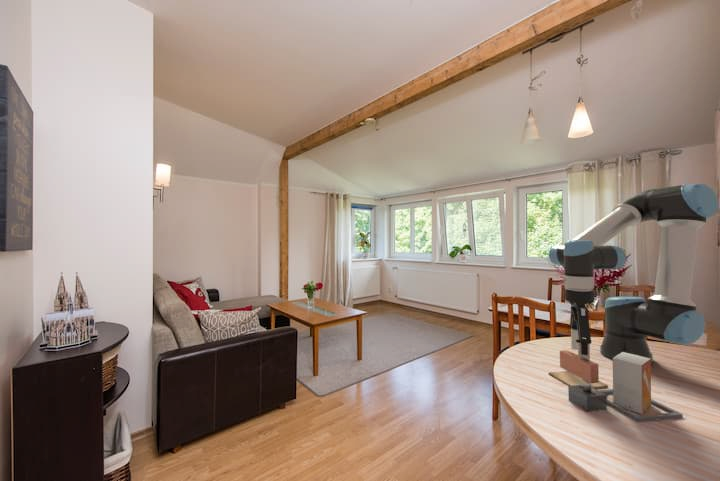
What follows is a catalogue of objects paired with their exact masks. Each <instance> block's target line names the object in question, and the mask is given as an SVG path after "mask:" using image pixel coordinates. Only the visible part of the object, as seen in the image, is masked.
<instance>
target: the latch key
mask: <svg viewBox="0 0 720 481" xmlns="http://www.w3.org/2000/svg"><path fill="white" fill-rule="evenodd" d="M559 368H561V369H563V370H564V371H568V372H570V373H572V374H574V375H576V376H578V377H580V378H582V389H583V390H585V391H591V383H599V381H600V380H599V379H600V378H599V375H600V374H599V373H600V372H599V370H600V369H599V364H598V363H597V362H594V361H592V360H591V359H590V360H588V359H585V358H583V357H581V356H579V355H578V354H576V353H574V352H573V351H572V352H571V351H569V350H567V349H565V350H559Z"/></svg>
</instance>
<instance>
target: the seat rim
mask: <svg viewBox="0 0 720 481" xmlns="http://www.w3.org/2000/svg"><path fill="white" fill-rule="evenodd" d="M597 390H598V391H600V392H602V393H604V394H606V395H613V388H610V389H597ZM651 405H652V406H655V407H657V408H659V409H661V410H663V411H665V412H666V413H657V414H656V413H655V414H646V415H636V414H634V413H633V412H632V411H631V412H630V410H628V409H626V408H623V407H620V406H618V405H616V404H615V403H613V401H611V400H609V399H607V406H609V407H611V408H613V409H615V410H616V411H618V412H619V413H622V414H623V415H625V416H627V417H629V419H632V420H634V421H636V422H637V423H642V422H643V423H644V422H653V421H660V420H661V421H662V420H670V419H680V418H683V417H684V416H683V413H681V412H679V411H677V410H675V409H673V408H671V407H669V406H666V405H665V404H662V403H660V402H658V401H656V400H654V399H652V398H651Z"/></svg>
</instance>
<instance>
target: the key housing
mask: <svg viewBox="0 0 720 481" xmlns="http://www.w3.org/2000/svg"><path fill="white" fill-rule="evenodd" d="M567 386H568V385H567ZM598 390H599V389H598V388H593V387H591V391H585V390H583V389H582V385H574V386H568V390H567V391H568V392H567V393H568V401H570V402H571V403H572V404H574V405H576V406H577V407H579V408H581V409H582V410H584V411H585V412H587V413H588V412H598V411H607V410H608V405H607V400H608V398H607V396H608V394H604V393H602V392H600V391H598Z"/></svg>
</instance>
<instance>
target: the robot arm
mask: <svg viewBox="0 0 720 481" xmlns="http://www.w3.org/2000/svg"><path fill="white" fill-rule="evenodd" d="M718 212H719V199H718V195H717V193H716V192H715V191H714V189H713V188H712V187H711V186H709V185H708V184H705V183H701V182H696V183H685V184H684V183H683V184H679V185H674V186H665V187H659V188H652V189H647V190H644V191H641V192H638V193H636V194H635V195H633V196H630V197H629V198H627V199H625V200H624V201H621V202H620V203H618V204H617V205H615V206H614V207H613V209H612V212H610V213H609V214H608V215H606V216H605V217H603V218H602V219H600V220H599V221H597V222H596V223H595V224H593V225H592V226H590V227H588V228H587V229H586V230H584V231H583V232H581V233H580V234H578V235H577V236H575V237H574V238H572V239H571V240H566V241H565V242H564V244H559V245H554V246H551V248H550V249H549V251H548V258H549V261H550V262H551V263H552V264H554V265H555V266H562V267H564V268H563V270H564V273H563V274H564V277H562V280H561V281H563V282H564V287H565V289H564V301H566V302H569V303H570V318H569V319H570V320H569V321H570V322H569V325H570V343H571V344H570V345H571V346H570V349H571V350H574V351H575V350H576V351H577V355H579V356H581V357H583V358H585V359H588V360H590V361H591V354H590V353H591V349H590V348H591V346H590V344H592V338H591V327H590V319H589V317H590V316H589V312H590V311H589V309H588V308H587V307H586V305H587V304H589V305H590V304H593V303H594V302H595V291H594V289H595V276H594V270H614V269H619V268H622V267H623V266H624V265H625V264H626V262H627V258H628V256H627V254H626V251H625V250H624V249H623V248H622V247H620V246H618V245H617V246H616V245H608V244H607V243H609V241H611V240H612V239H614V238H615V237H616V236H618V235H619V234H621V233H623V232H624V231H625V230H627V229H628V228H629V227H634V226H638V225H639V224H640V223H644V222H648V221H656V224H657V225H658V226H660V227H661V235H660V242H659V243H660V244H659V251H658V260H657V269H656V277H655V286H654V294H652V295H651V296H649V297H647V301H646V298H644V297H640V296H612V297H611V296H610V297H608V298H606V299H605V304H604V314H605V315H604V318H605V334H604V337H603V340H602V343H601V345H600V351H599V352H600V354H601V355H602V356H603V357H606V358H608V359H610V360H613V358H614V357H615V356H616V355H618V354H620V353H622V352H625V353H630V354H634V355H638V356H642V357H646V358H650V359H651V364H652V363H653V362H654V357H653V356H654V355H653V354H652V352H651V349H650V347H649V345H648V342H647V337H650V338H653V339H658V340H661V341H664V342H668V343H672V344H678V345H682V346H683V345H684V346H688V345H693V344H695V343H696V342H697V341H698V340H700V339H701V337H702V335H703V334H704V332H705V329H706V320H705V316H704V315H703V314H702V313H701V312H699V311H697V304H695V302H694V301H692V299H691V297H692V296H691V295H692V290H693V288H692V287H693V281H694V280H693V278H694V271H695V270H694V269H695V262H696V261H695V260H696V252H697V242H698V237H699V236H698V235H699V229H700V228H702V227H703V226H705V225H706V224H707V218H711V217H715V215H717V213H718ZM605 244H607V245H605Z"/></svg>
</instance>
